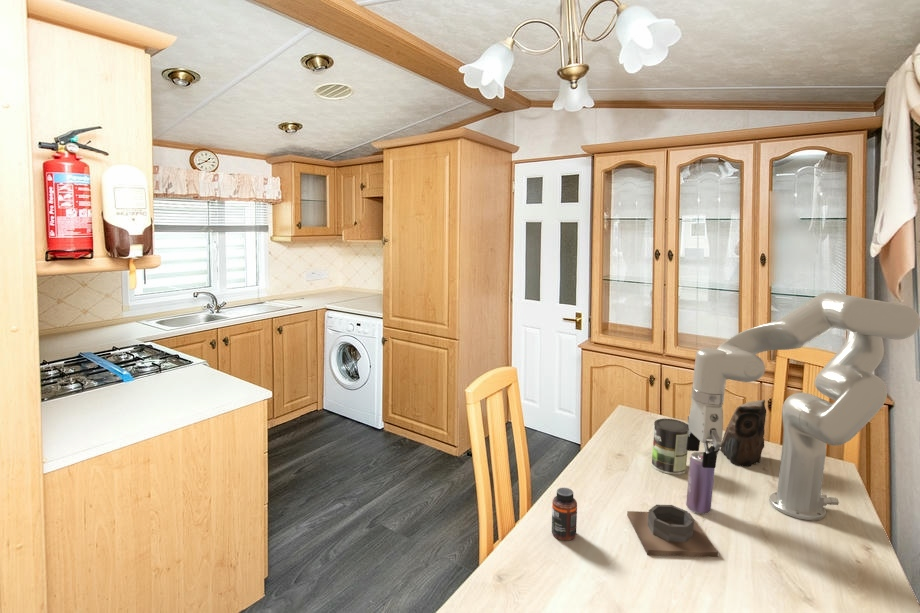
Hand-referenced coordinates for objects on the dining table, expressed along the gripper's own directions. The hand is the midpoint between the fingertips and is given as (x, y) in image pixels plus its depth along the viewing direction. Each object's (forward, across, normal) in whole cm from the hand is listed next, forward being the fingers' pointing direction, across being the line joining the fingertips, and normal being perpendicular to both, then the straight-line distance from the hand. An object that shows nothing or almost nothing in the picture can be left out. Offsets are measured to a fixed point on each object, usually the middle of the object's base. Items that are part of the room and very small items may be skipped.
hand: (700, 458), depth 133 cm
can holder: (+15, -12, +11) cm, 22 cm away
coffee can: (+14, +24, -2) cm, 28 cm away
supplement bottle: (+16, -13, +37) cm, 42 cm away
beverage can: (+15, 0, -1) cm, 15 cm away
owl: (+14, +32, -28) cm, 45 cm away
